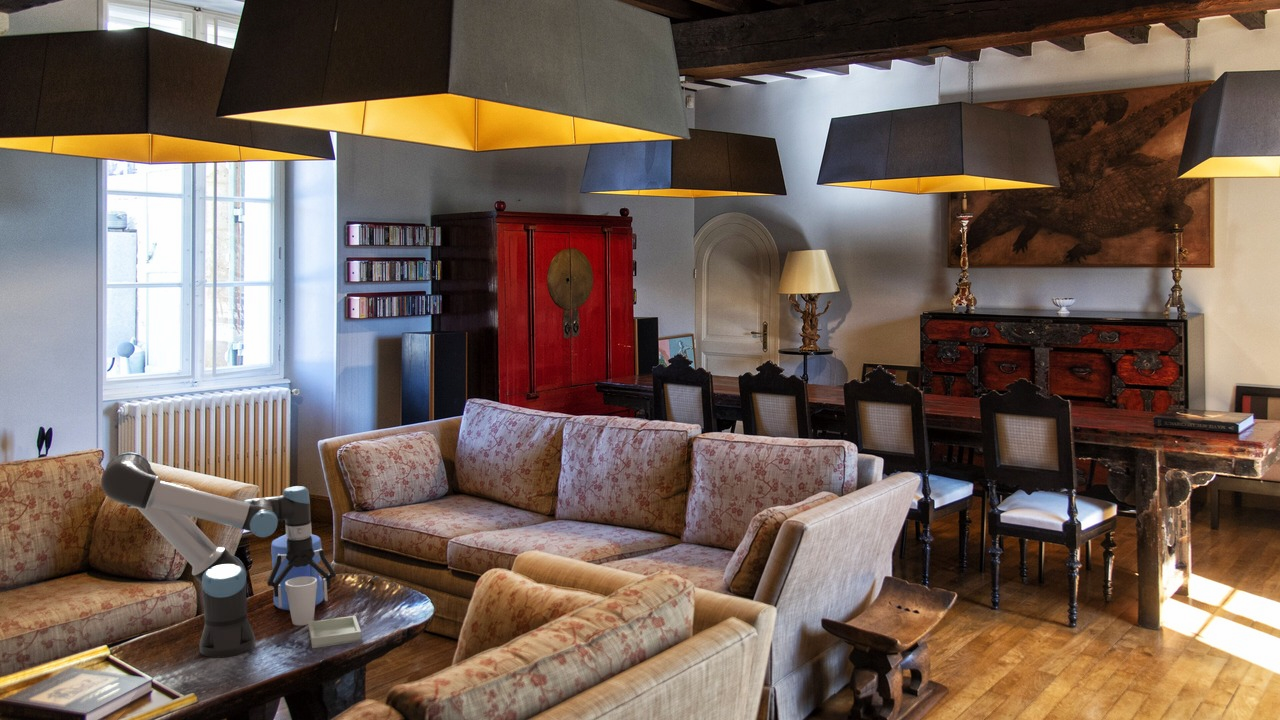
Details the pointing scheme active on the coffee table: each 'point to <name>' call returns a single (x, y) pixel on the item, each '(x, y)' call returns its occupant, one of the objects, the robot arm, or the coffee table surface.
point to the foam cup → (301, 599)
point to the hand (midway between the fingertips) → (303, 602)
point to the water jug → (295, 570)
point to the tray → (334, 631)
